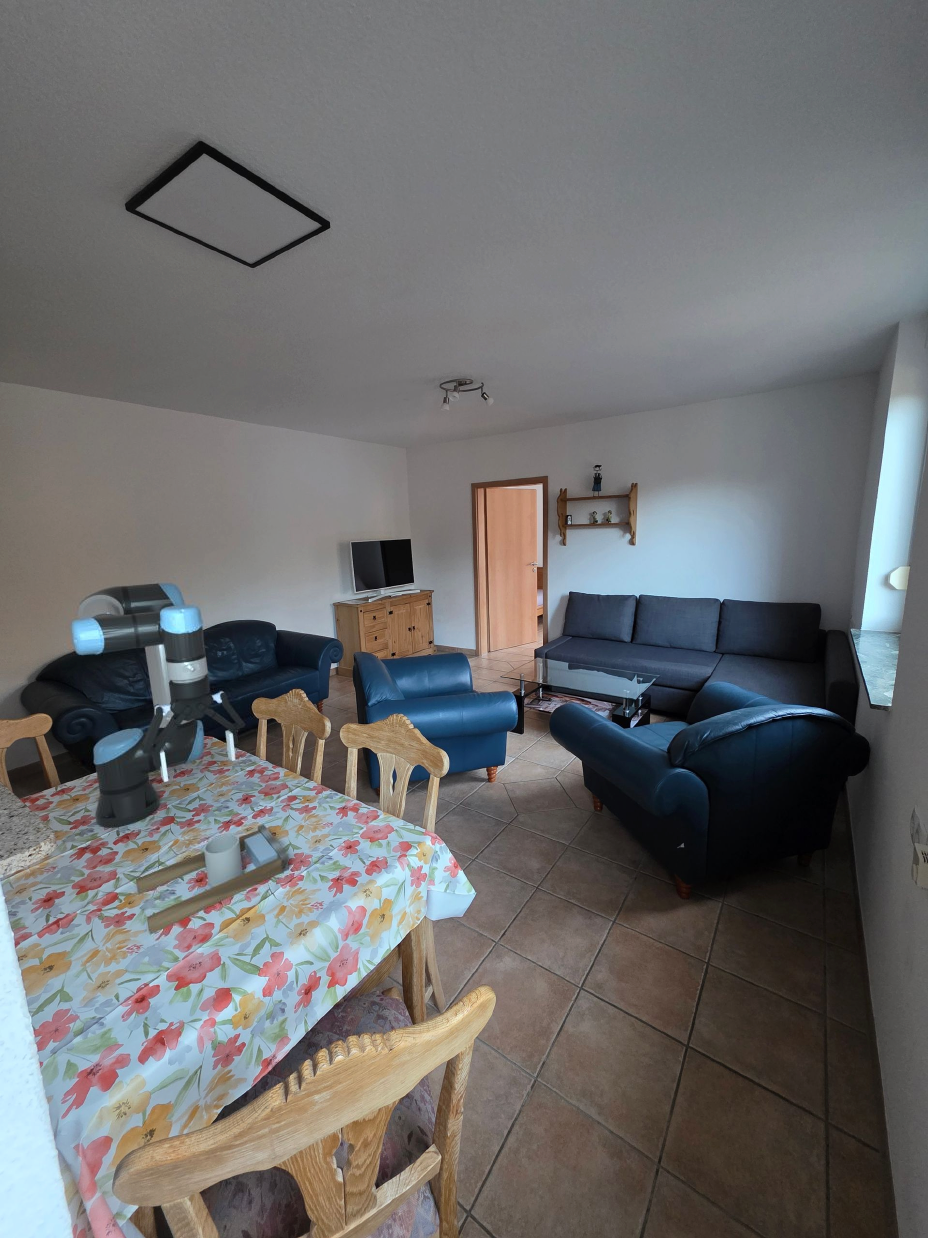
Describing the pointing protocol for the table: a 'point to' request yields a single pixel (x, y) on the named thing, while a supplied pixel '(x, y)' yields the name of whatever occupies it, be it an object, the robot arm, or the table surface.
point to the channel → (212, 894)
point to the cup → (223, 859)
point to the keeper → (259, 850)
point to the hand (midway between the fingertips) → (199, 768)
